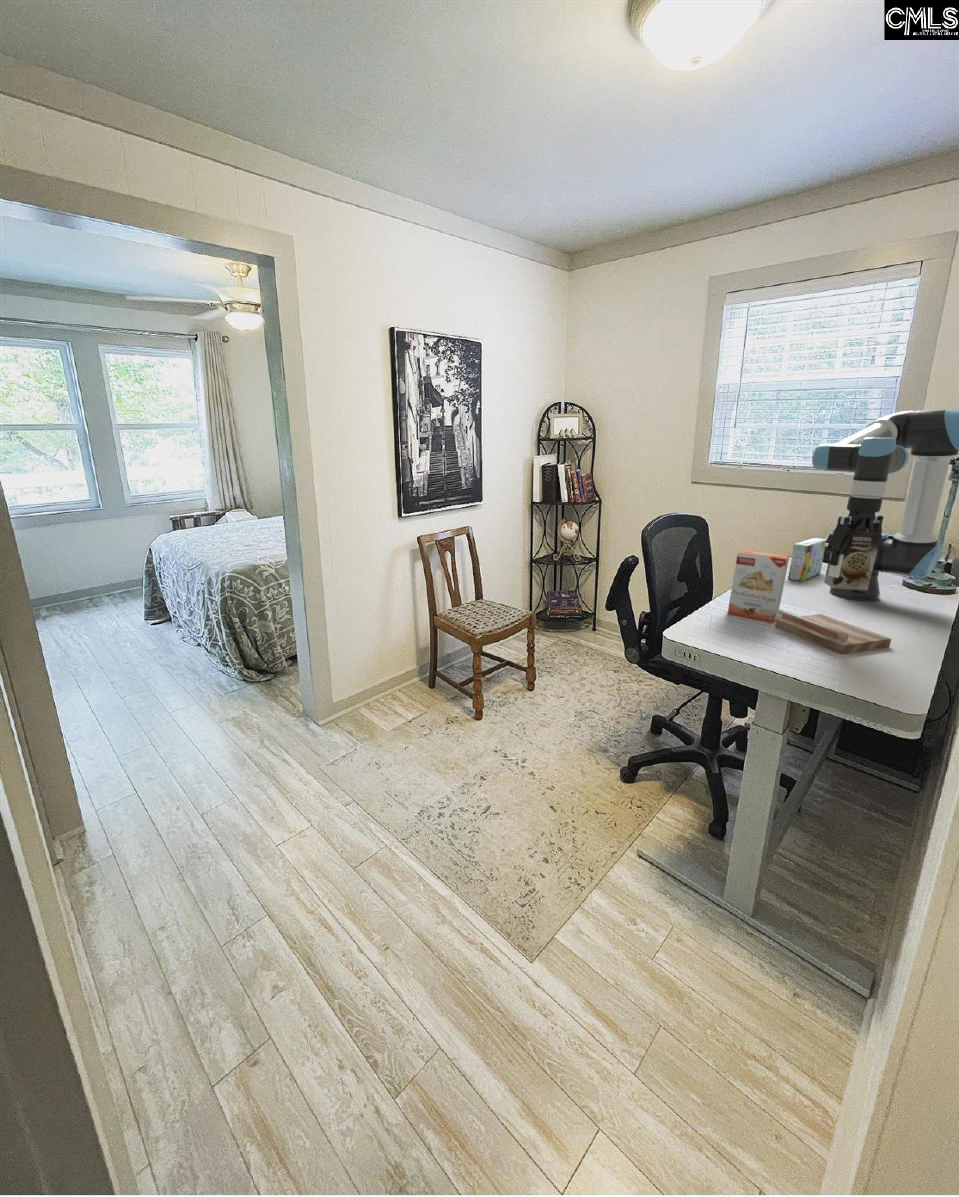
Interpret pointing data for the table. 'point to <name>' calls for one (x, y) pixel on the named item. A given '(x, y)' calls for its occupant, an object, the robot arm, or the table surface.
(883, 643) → the shelf board
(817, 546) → the snack box
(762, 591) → the cracker box
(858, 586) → the cookie box
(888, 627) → the table surface
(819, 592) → the table surface
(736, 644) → the table surface
